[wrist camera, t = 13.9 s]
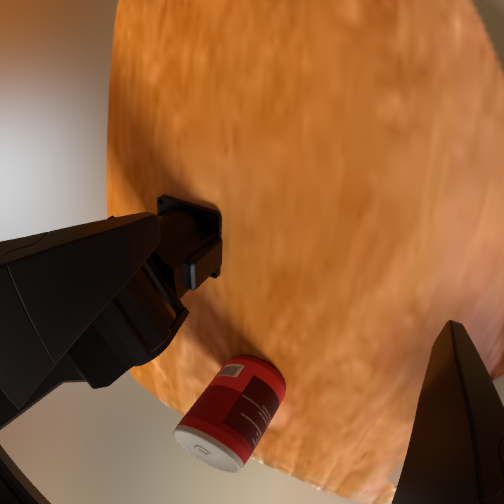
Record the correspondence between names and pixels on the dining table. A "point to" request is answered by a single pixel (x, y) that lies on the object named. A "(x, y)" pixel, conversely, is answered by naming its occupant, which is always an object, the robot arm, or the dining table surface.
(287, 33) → the dining table surface
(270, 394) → the canned food
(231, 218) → the dining table surface
